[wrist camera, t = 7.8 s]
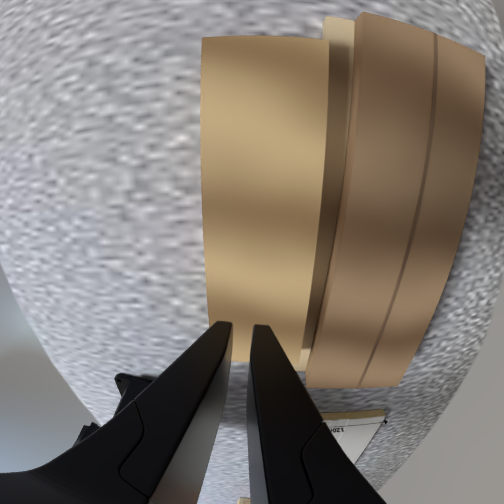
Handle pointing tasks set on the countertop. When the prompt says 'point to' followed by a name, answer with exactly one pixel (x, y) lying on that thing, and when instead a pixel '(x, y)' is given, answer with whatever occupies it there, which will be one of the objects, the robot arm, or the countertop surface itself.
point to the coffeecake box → (244, 501)
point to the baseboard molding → (354, 429)
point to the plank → (262, 181)
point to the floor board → (388, 195)
